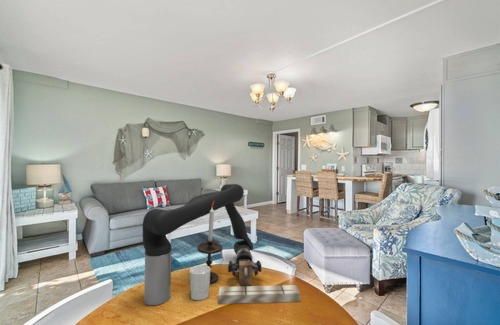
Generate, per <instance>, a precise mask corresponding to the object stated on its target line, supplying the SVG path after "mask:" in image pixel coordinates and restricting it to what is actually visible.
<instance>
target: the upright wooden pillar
mask: <svg viewBox="0 0 500 325" xmlns="http://www.w3.org/2000/svg"><path fill="white" fill-rule="evenodd" d="M238 273H239V274H238V276H239V277H238V278H239V279H238V281H239V282H238V286H253V272H252V262H251V261H239V272H238Z"/></svg>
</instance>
